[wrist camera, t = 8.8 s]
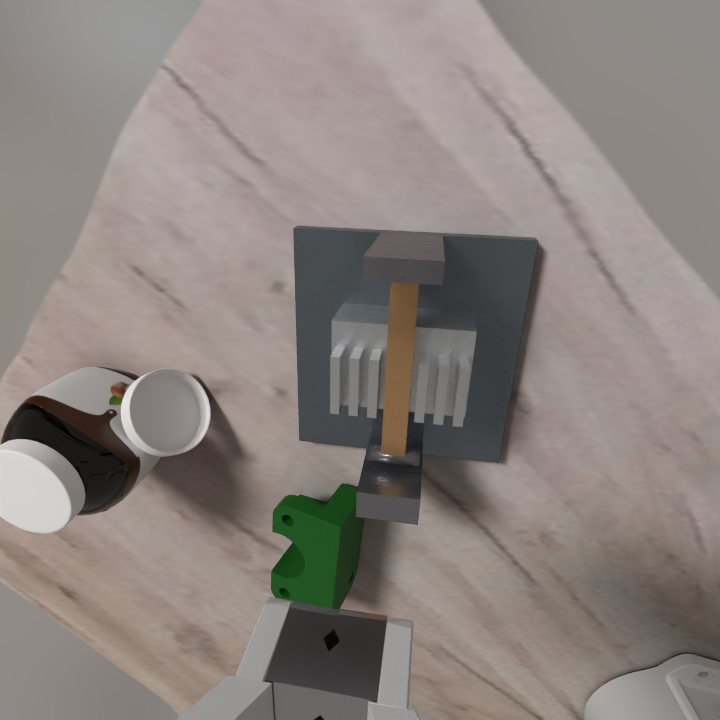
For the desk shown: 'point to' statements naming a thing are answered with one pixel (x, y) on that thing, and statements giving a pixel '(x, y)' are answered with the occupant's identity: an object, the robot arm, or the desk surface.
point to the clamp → (317, 548)
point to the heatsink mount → (431, 346)
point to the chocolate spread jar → (94, 442)
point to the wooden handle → (398, 379)
